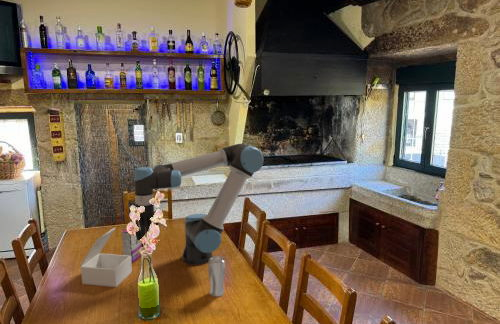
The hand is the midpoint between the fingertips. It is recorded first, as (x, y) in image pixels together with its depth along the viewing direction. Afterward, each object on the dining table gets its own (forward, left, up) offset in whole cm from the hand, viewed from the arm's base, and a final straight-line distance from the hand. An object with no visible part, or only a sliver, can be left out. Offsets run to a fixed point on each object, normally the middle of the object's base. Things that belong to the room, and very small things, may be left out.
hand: (146, 255), depth 153 cm
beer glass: (-33, +4, -13) cm, 35 cm away
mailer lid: (+23, 0, +2) cm, 23 cm away
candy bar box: (+17, -20, -13) cm, 29 cm away
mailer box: (+19, 0, -12) cm, 23 cm away
